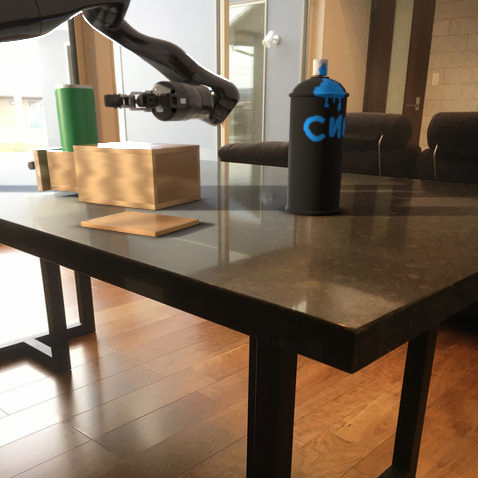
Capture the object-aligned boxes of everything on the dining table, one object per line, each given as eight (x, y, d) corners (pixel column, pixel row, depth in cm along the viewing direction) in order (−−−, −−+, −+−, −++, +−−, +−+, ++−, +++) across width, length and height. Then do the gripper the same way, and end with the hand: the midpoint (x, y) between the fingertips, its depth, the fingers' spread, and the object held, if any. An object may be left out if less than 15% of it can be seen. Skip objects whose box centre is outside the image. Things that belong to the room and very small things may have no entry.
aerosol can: (274, 208, 78) (278, 60, 71) (319, 204, 82) (327, 63, 74) (305, 217, 71) (313, 55, 64) (352, 212, 75) (365, 58, 67)
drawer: (21, 189, 91) (15, 148, 88) (69, 182, 99) (64, 145, 97) (100, 197, 82) (96, 152, 79) (145, 189, 91) (142, 148, 88)
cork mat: (80, 226, 66) (80, 221, 65) (128, 215, 73) (128, 210, 73) (155, 237, 60) (155, 232, 60) (199, 223, 67) (199, 219, 67)
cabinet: (79, 201, 84) (72, 145, 81) (129, 192, 93) (125, 142, 90) (155, 210, 77) (151, 149, 73) (201, 199, 86) (199, 144, 83)
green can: (57, 183, 89) (45, 84, 83) (84, 179, 94) (74, 86, 88) (84, 186, 86) (73, 83, 80) (110, 182, 91) (101, 85, 85)
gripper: (148, 82, 109) (92, 79, 96) (204, 80, 103) (152, 76, 90) (150, 120, 112) (96, 122, 99) (205, 121, 105) (155, 122, 92)
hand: (123, 100), depth 94 cm, fingers open, 8 cm apart
